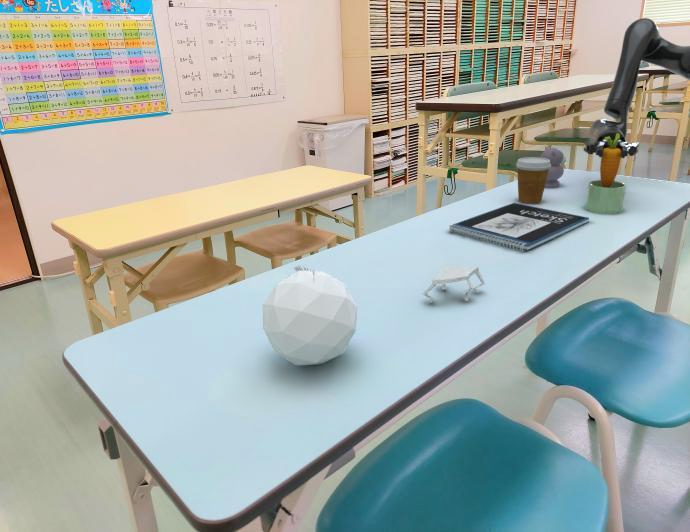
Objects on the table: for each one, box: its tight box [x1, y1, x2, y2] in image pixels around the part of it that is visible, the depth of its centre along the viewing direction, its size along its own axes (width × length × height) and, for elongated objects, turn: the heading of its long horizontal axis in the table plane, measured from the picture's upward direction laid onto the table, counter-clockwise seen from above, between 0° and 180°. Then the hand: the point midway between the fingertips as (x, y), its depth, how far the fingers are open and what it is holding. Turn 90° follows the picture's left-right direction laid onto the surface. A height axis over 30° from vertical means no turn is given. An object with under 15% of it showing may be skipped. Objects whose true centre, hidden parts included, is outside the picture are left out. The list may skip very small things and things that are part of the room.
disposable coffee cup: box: [515, 156, 551, 205], centre depth 149 cm, size 10×10×12 cm
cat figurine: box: [540, 145, 565, 189], centre depth 165 cm, size 8×8×12 cm
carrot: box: [599, 133, 622, 188], centre depth 137 cm, size 5×5×15 cm
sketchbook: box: [448, 202, 590, 252], centre depth 130 cm, size 22×30×2 cm
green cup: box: [585, 179, 627, 215], centre depth 140 cm, size 9×9×7 cm
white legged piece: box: [422, 265, 486, 304], centre depth 95 cm, size 12×8×5 cm
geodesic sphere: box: [262, 265, 358, 367], centre depth 77 cm, size 15×14×14 cm
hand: (612, 153), depth 134 cm, fingers closed on carrot, 4 cm apart
